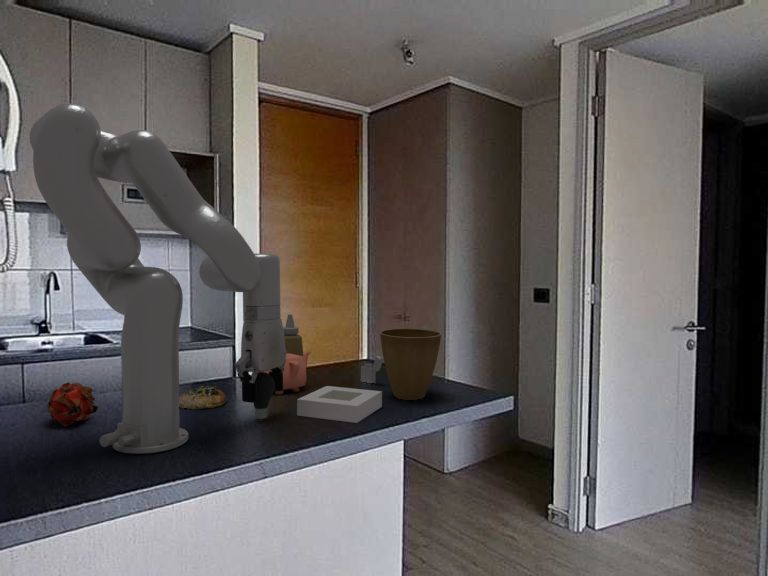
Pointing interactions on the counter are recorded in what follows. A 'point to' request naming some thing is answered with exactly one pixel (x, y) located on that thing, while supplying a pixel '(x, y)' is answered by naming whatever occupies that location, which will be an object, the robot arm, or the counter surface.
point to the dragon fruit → (71, 403)
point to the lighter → (371, 370)
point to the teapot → (294, 372)
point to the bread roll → (202, 398)
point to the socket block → (339, 404)
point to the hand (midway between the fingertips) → (263, 395)
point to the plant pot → (410, 360)
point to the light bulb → (263, 394)
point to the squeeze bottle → (292, 338)
